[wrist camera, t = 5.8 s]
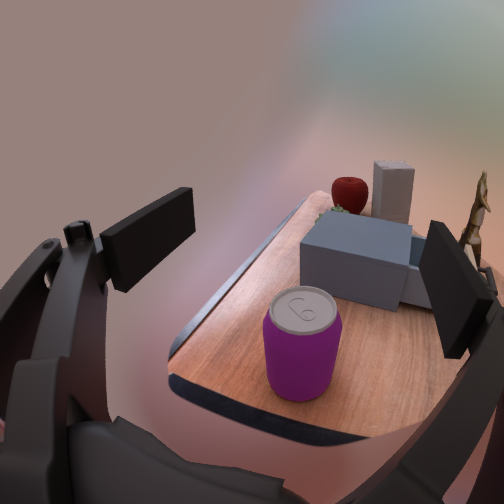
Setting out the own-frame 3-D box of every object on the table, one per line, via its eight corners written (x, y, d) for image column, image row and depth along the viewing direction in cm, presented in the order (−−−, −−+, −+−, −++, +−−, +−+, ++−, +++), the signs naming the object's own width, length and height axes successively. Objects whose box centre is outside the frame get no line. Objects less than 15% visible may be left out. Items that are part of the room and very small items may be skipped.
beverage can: (343, 386, 29) (362, 316, 22) (285, 415, 26) (285, 352, 20) (310, 345, 35) (315, 272, 29) (257, 368, 33) (247, 296, 26)
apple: (338, 204, 74) (338, 170, 69) (370, 211, 69) (372, 175, 64) (325, 217, 68) (325, 179, 63) (361, 224, 63) (364, 185, 58)
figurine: (472, 274, 41) (497, 178, 31) (448, 255, 48) (466, 164, 38) (483, 268, 42) (506, 177, 32) (460, 250, 49) (477, 164, 38)
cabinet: (404, 265, 47) (412, 225, 43) (396, 312, 37) (408, 265, 33) (325, 248, 55) (327, 209, 51) (299, 287, 46) (299, 242, 41)
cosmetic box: (397, 219, 64) (403, 160, 56) (408, 232, 58) (417, 167, 49) (368, 220, 65) (372, 158, 56) (377, 233, 58) (383, 166, 50)
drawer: (481, 281, 38) (492, 250, 34) (489, 326, 29) (506, 292, 26) (388, 260, 48) (394, 227, 44) (378, 300, 39) (386, 264, 36)
